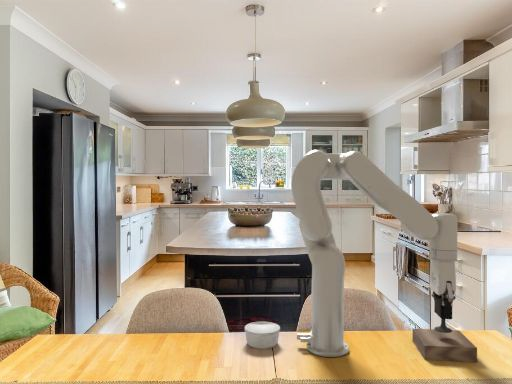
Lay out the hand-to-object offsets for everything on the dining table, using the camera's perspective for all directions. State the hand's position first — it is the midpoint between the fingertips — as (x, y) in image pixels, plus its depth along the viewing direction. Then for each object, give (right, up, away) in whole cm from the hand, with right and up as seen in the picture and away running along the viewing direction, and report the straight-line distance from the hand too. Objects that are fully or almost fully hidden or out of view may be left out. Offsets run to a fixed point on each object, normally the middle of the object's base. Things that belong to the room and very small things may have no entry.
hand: (443, 315), depth 123 cm
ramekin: (-54, -11, +6) cm, 55 cm away
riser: (0, -11, 0) cm, 11 cm away
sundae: (0, -5, 0) cm, 5 cm away
